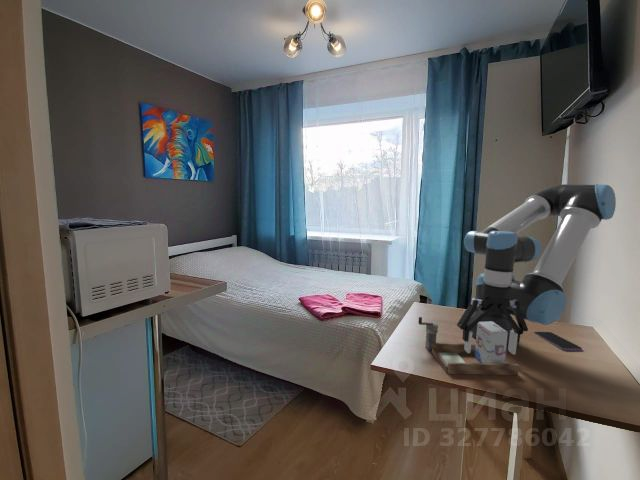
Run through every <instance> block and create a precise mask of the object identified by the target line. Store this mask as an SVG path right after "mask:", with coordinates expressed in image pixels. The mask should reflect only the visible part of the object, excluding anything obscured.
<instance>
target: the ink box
mask: <svg viewBox="0 0 640 480" xmlns="http://www.w3.org/2000/svg"><path fill="white" fill-rule="evenodd" d="M507 335H508V332H507V331H506V330H504V329H503V328H501V327H500V326H499V325H497V324H496V323H494V322H492V321H488V322H478V324H477V336H476V338H475V344H476V348H475V354H474V357H475V358H476V359H477V360H478V361H479V363H498V364H506V355H507V354H506V353H507V346H508V345H507V344H508V343H507Z"/></svg>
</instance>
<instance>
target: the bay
mask: <svg viewBox="0 0 640 480" xmlns="http://www.w3.org/2000/svg"><path fill="white" fill-rule="evenodd" d="M417 322H418V324H419V325H421V326H425V332H426V336H425V348H426V350H427V351H431V353H432V355H433V356H434V357H435V359H436V361H437V362H438V363H439V365H440V366H441V368H442V369H443V371H444V372H445V373H447V374H448V375H450V374H451V375H488V376H490V375H494V376H519V369H520V364H518V363H505V364H498V363H481V362H465V360H464V359H463V358H462V357H461V356H460V355H459V354H468V353H467V352H466V351H465V350H464V344H465V342H464V343H463V342H437V334H438V333H439V331H438V330H439V325H438V324H437V323H435V322H433V321H432V322H431V321H423V317H421V316H418V321H417ZM475 348H476V343H471V352H470V353H469V354H474V355H475Z"/></svg>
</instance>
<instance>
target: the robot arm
mask: <svg viewBox="0 0 640 480" xmlns="http://www.w3.org/2000/svg"><path fill="white" fill-rule="evenodd" d="M616 202H617V201H616V193H615V191H614V189H613V187H612V186H610V185H608V184H598V183H595V184H557V185H551V186H549V187H546V188H543V189H541V190H539V191H537V192H535V193H533V194H531V195H530V196H528V197H527V198H526V199H525V200H524V202H523V203H522V204H521V205H520V206H518V207H516V208H514V209H513V210H512V211H510V212H508V213H507V214H506V215H504V216H502V217H501V218H500V219H498V220H496V221H495V222H493V223H492V224H490V225H489V226H487V227H485V228H484V229H482V231H478V230H471V231H468V232H467V233H466V234H465V236H464V239H463V244H464V245H463V246H464V248H465V250H466V251H467V252H470V253H474V254H476V255H483V256H485V261H484V262H485V263H484V271H483V273H480V274H479V275H478V276H477V280H476V287H475V288H476V289H475V298H474V297H471V298H470V299H469V304H468V306H467V307H466V309H465V310H464V313H463V314H462V315H461V317H460V319H459V321H458V322H457V324H456V326H457V327H458V328H459V329H460V330H462V338H461V339H462V340H463V341H464V343H465V344H464V350H465V351H466V352H467V353H466V354H471V353H470V352H471V344H473V343H472V340H473V338H474V339H476V336H477V324H478V322H488V321H492V322H494V323H496V324H497V325H499V326H500V327H501V328H503V329H504V330H506V331H507V332H508V335H507V344H508V345H507V346H508V347H507V351H508V352H510V354H512V355H516V354H517V345H518V344H519V343H520V341H521V340H520V338H521V335H523V334H524V332H528V330H529V328H528V325H527V323H526V321H529V322H531V323H533V324H534V323H535V324H540V325H543V326H547V325H550V324H553V323H555V322H557V321H558V320H559V319H560V317H562V315H563V314H564V311H565V309H566V304H567V297H566V294H565V293H564V292H565V290H564V287H563V286H562V284H563V281H564V280H565V278H566V276H567V274H568V273H569V270H571V269H570V268H571V267H572V265H573V263H574V262H575V259H576V257H577V255H578V253H579V251H580V249H581V247H582V246H583V244H584V242H585V240H586V238H587V236H588V234H590V233H589V232H590V231H591V229H595V228H597V227H598V226H599V225H600V224H601V221H602V220H605V221H607V220H610V219H612V218H613V217H614V214H615V212H616V205H617V203H616ZM548 217H560V219H561V220H560V222H559V224H558V226H557V228H556V230H555V231H554V233H553V235H552V236H551V239H550V240H549V241H548V243H547V245H546V247H545V249H544V251H543V252H542V245H541V243H540V241H539V240H538V239H536V238H534V237H531V236H525V235H524V236H518V234H519V233H521V232H522V231H524V230H526V229H527V228H529V226H530V225H532V224H534V223H536V222H537V221H538V220H539V221H540V220H544V219H546V218H548ZM541 253H542V255H541ZM539 257H540V258H539ZM538 258H539V260H538V262H537V263H536V266H534V269H533V271H532V272H528V273H526V274H525V275H524V277H523V278H522V280H521V281H520V280H516V276H515V275H514V266H515V263H528V262H530V261H535V260H536V259H538ZM511 315H512V316H514V317H515V320H516V321H515V320H514V318H513V317H512V316H511ZM516 322H517V323H516Z"/></svg>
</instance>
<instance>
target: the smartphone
mask: <svg viewBox="0 0 640 480" xmlns="http://www.w3.org/2000/svg"><path fill="white" fill-rule="evenodd" d="M534 333H535V334H534ZM533 334H534V335H536V336H537V335H538V336H537V337H539V338H541V339H543V340H545V341H546V342H547V343H549V344H550V345H553V346H554V347H556V348H557V349H559V350H562V351H565V352H568V351H569V352H570V351H571V352H572V351H573V352H581V351H583V348H582V347H581V346H579V345H577V344H575V343H573V342H571V341H569V340H567V339H566V338H564V337H561V336H559V335H558V334H555V333H554V332H552V331H533Z"/></svg>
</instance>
